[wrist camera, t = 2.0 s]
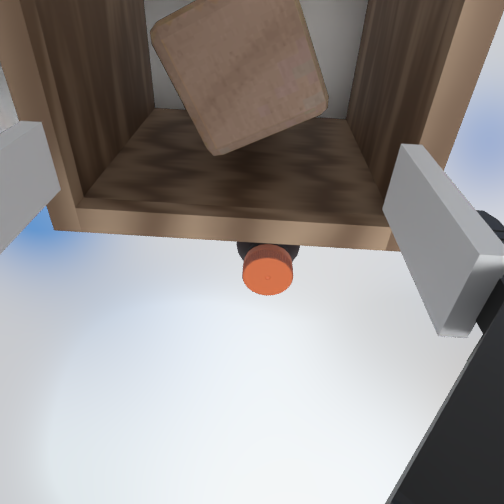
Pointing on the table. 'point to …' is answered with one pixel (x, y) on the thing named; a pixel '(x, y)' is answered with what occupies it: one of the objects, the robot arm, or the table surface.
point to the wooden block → (241, 68)
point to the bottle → (267, 266)
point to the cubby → (250, 156)
